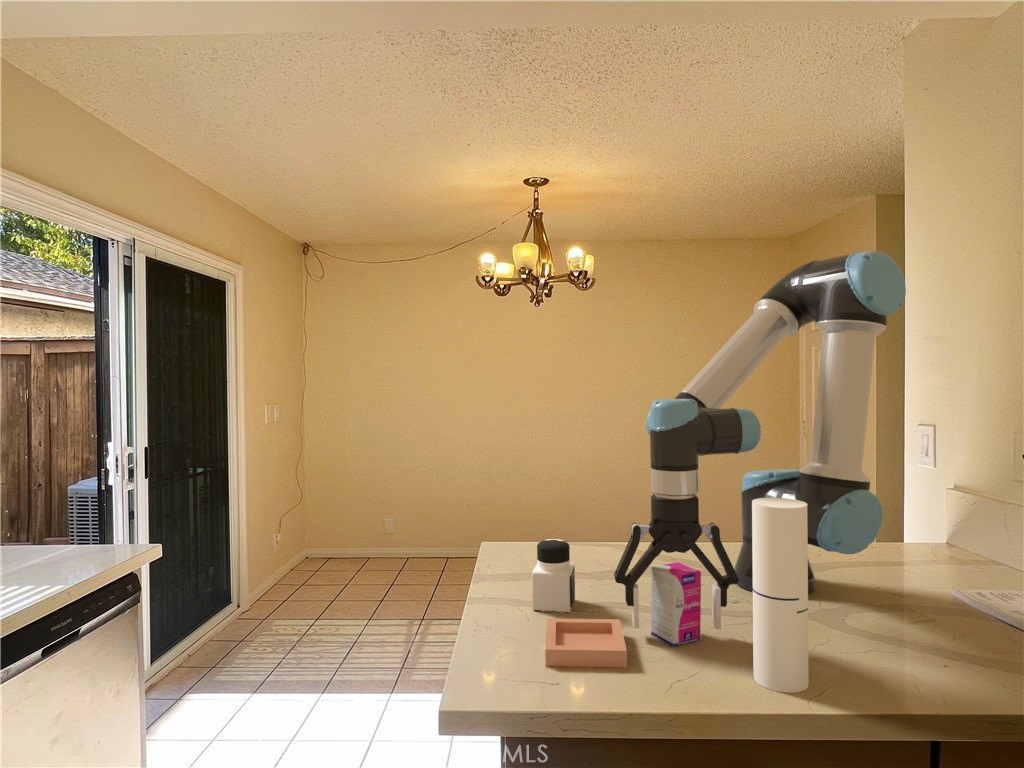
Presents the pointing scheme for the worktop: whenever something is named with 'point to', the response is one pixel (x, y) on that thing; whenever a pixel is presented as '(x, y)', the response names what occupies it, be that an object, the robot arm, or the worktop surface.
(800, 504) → the cylindrical container
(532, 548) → the worktop surface
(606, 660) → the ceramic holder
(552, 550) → the medicine bottle
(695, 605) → the supplement box
